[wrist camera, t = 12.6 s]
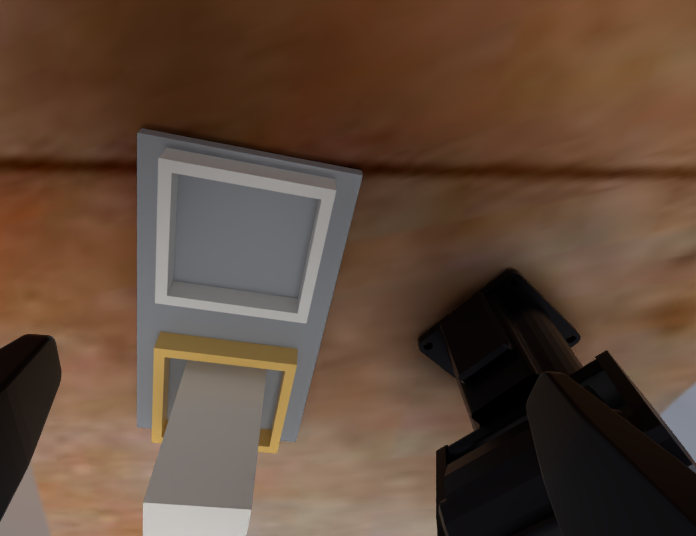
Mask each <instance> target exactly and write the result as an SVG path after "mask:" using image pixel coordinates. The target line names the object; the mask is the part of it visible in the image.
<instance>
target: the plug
mask: <svg viewBox="0 0 696 536" xmlns="http://www.w3.org/2000/svg"><path fill="white" fill-rule="evenodd" d="M266 371H267V369H261V368H253V367H244V366H236V365H227V364H219V363H210V362H202V361H193V360H187V363H186V366H185V370H184V373H183V376H182V379H181V383H180V386H179V389H178V392H177V395H176V399H175V402H174V405H173V408H172V411H171V415H170V418H169V421H168V424H167V428H166V431H165V434H164V437H163V440H162V444H161V447H160V450H159V453H158V457H157V460H156V463H155V466H154V469H153V473H152V476H151V479H150V482H149V486H148V489H147V492H146V495H145V498H144V502H143V536H246V535H247V530H248V524H249V519H250V514H251V509H252V500H253V491H254V481H255V472H256V463H257V454H258V445H259V435H260V426H261V417H262V408H263V399H264V389H265V380H266Z"/></svg>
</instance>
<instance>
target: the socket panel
mask: <svg viewBox="0 0 696 536" xmlns="http://www.w3.org/2000/svg"><path fill="white" fill-rule="evenodd" d="M362 177H363V174H362V170H357V169H352V168H347V167H341V166H336V165H331V164H326V163H321V162H315V161H310V160H305V159H300V158H295V157H289V156H284V155H279V154H274V153H269V152H263V151H258V150H253V149H248V148H243V147H237V146H232V145H227V144H222V143H217V142H211V141H206V140H201V139H196V138H191V137H185V136H180V135H175V134H170V133H165V132H159V131H154V130H149V129H144V128H141V129H140V130H139V131H138V132H137V427H139V428H150V429H152V442H153V443H162V440H163V437H164V434H165V431H166V428H167V424H168V421H169V418H170V415H171V411H172V408H173V405H174V402H175V399H176V395H177V392H178V389H179V386H180V383H181V379H182V376H183V373H184V370H185V366H186V363H187V360H193V361H202V362H210V363H219V364H227V365H236V366H244V367H253V368H261V369H267V371H266V380H265V389H264V399H263V408H262V417H261V426H260V435H259V445H258V452H266V453H277V451H278V447H279V443H280V441H290V442H296V439H297V435H298V431H299V427H300V423H301V419H302V415H303V411H304V407H305V403H306V399H307V395H308V391H309V387H310V384H311V380H312V376H313V372H314V368H315V364H316V360H317V356H318V352H319V348H320V344H321V340H322V336H323V332H324V328H325V324H326V320H327V316H328V312H329V308H330V304H331V300H332V296H333V292H334V288H335V284H336V280H337V276H338V272H339V268H340V264H341V260H342V256H343V252H344V248H345V244H346V240H347V236H348V232H349V228H350V224H351V220H352V216H353V212H354V208H355V204H356V200H357V196H358V193H359V189H360V185H361V181H362Z"/></svg>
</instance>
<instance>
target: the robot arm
mask: <svg viewBox="0 0 696 536" xmlns="http://www.w3.org/2000/svg"><path fill="white" fill-rule="evenodd" d="M511 278H515V279H514V280H513V281H511V282H508V281H509V280H510V279H511ZM570 336H571V337H570ZM568 337H569V338H568ZM579 340H580V335H579V333H578V332H577V330H576V329H575V328H574V327H573V326H572V325H571V324H570V323H569V322H568V321H567V320H566V319H565V318H564V317H563V316H562V315H561V314H560V313H559V312H558V311H557V310H556V309H555V308H554V307H553V306H552V305H551V304H550V303H549V302H548V301H547V300H546V299H545V298H544V297H543V296H542V295H541V294H540V293H539V292H538V291H537V290H536V289H535V288H534V287H533V286H532V285H531V284H530V283H529V282H528V281H527V280H526V279H525V278H524V277H523V276H522V275H521V274H520V273H519V272H518V271H516V270H513V269H511V270H507V271H505V272H504V273H502V274H501V275H500V276H499V277H497V278H496V279H495V280H493V281H492V282H491V283H489V284H488V285H487V286H486V287H484V288H483V289H482V290H480V291H479V292H478V293H477V294H475V295H474V296H473V297H471V298H470V299H469V300H467V301H466V302H465V303H463V304H462V305H461V306H460V307H458V308H457V309H456V310H454V311H453V312H452V313H451V314H449V315H448V316H447V317H445V318H444V319H443V320H441V321H440V322H439V323H438V324H436V325H435V326H434V327H432V328H431V329H430V330H429V331H427V332H426V333H425V334H423V335H422V336H421V337H420V338H419V339H418V346H419V350H420V351H421V352H422V353H424V354H425V355H426V356H428V357H429V358H430V359H431V360H433V361H434V362H435V363H437V364H438V365H439V366H440V367H442V368H443V369H444V370H446V371H447V372H448V373H450V374H451V375H452V376H453V377H455V378H456V380H457V383H458V386H459V389H460V392H461V395H462V397H463V400H464V403H465V406H466V409H467V412H468V415H469V417H470V420H471V423H472V426H473V429H474V431H473V432H472V433H470V434H468V435H467V436H465V437H463V438H462V439H460V440H458V441H456V442H455V443H453V444H451V445H450V446H448V445H445V446H444V447H442V448H440V449H438V450H437V451H436V520H437V534H438V536H696V463H695V461H694V460H693V459H692V457H691V456H690V454H689V453H688V452H687V450H686V449H685V448H684V446H683V445H682V444H681V442H680V441H679V440H678V439H677V437H676V436H675V435H674V433H673V432H672V431H671V430H670V429H669V427H668V426H667V424H666V423H665V422H664V421H663V419H662V418H661V417H660V415H659V414H658V413H657V412H656V410H655V409H654V408H653V406H652V405H651V404H650V403H649V401H648V400H647V399H646V398H645V397H644V395H643V394H642V393H641V392H640V390H639V389H638V388H637V387H636V385H635V384H634V383H633V382H632V381H631V379H630V378H629V377H628V376H627V374H626V373H625V372H624V371H623V369H622V368H621V367H620V366H619V365H618V363H617V362H616V361H615V360H614V358H613V357H612V356H611V355H610V353H609V352H608V351H607V350H606V351H604V352H603V353H601V354H599V355H598V356H596V357H595V358H596V360H594V361H592V362H591V363H589V364H587V365H585V366H584V367H583V366H582V364H581V363H580V361H579V360H578V358H577V357H576V355H575V354H574V352H573V351H572V349H571V347H572V346H574V345H575V344H577V343H578V342H579ZM426 343H430V344H428V345H424V344H426ZM60 381H61V366H60V361H59V356H58V351H57V346H56V342H55V339H54V338H53V337H52V336H49V335H37V334H26V335H24V336H21V337H20V338H18V339H16V340H14V341H13V342H11V343H9V344H7V345H6V346H4V347H2V348H0V521H1V519H2V518H3V516H4V514H5V512H6V510H7V508H8V506H9V504H10V502H11V500H12V498H13V496H14V494H15V492H16V490H17V488H18V486H19V484H20V482H21V480H22V478H23V476H24V474H25V472H26V470H27V468H28V466H29V463H30V461H31V458H32V456H33V454H34V451H35V448H36V446H37V443H38V440H39V438H40V435H41V432H42V430H43V427H44V424H45V422H46V419H47V417H48V414H49V411H50V409H51V406H52V403H53V401H54V398H55V395H56V393H57V390H58V387H59V385H60Z"/></svg>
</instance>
